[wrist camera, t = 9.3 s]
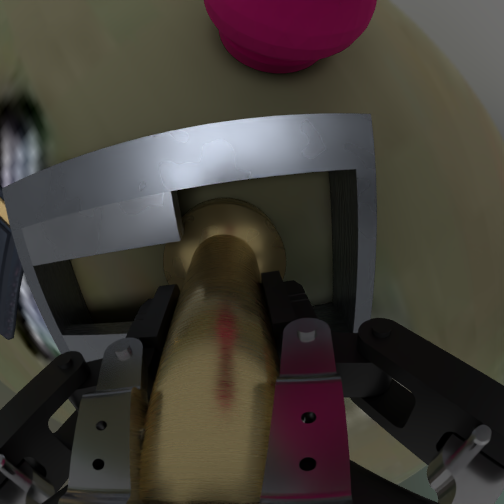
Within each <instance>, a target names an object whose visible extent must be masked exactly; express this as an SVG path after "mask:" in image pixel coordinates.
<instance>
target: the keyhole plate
mask: <svg viewBox="0 0 504 504" xmlns="http://www.w3.org/2000/svg"><path fill="white" fill-rule="evenodd" d="M320 171H329V179H330V193H331V212H332V239H333V303H328V304H323V305H317V306H312V308H313V310H314V312H315V314H316V316H317V318H318V319H319V320H322V321H324V322H325V323H327V324H328V326H329V327H330V330H331V331H334V332H339V333H358V329H359V327H360V325H361V324H362V323H364V322H365V321H367V320H370V318H371V309H372V299H373V288H374V275H375V259H376V230H377V197H376V169H375V153H374V140H373V130H372V120H371V114H344V113H333V114H299V115H282V116H269V117H259V118H249V119H241V120H233V121H225V122H219V123H212V124H206V125H200V126H194V127H189V128H184V129H179V130H174V131H169V132H164V133H160V134H155V135H151V136H147V137H143V138H139V139H135V140H131V141H127V142H124V143H120V144H117V145H113V146H110V147H106V148H103V149H100V150H97V151H94V152H91V153H88V154H85V155H82V156H79V157H76V158H73V159H70V160H67V161H65V162H62V163H59V164H57V165H54V166H52V167H49V168H47V169H44V170H42V171H39V172H37V173H35V174H32V175H30V176H28V177H25V178H23V179H21V180H19V181H17V182H14V183H12V184H10V185H8V186H6V187H4V188H2V192H3V197H4V202H5V207H6V211H7V216H8V220H9V224H10V228H11V232H12V235H13V239H14V242H15V246H16V249H17V252H18V256H19V259H20V262H21V265H22V268H23V270H24V273H25V276H26V279H27V281H28V284H29V287H30V289H31V292H32V294H33V297H34V299H35V301H36V304H37V306H38V308H39V310H40V313H41V315H42V317H43V319H44V321H45V323H46V325H47V328H48V330H49V332H50V334H51V336H52V337H53V339H54V341H55V343H56V345H57V347H58V349H59V351H60V352H61V354H63V353H65V352H69V351H77V352H80V353H81V354H82V356H83V357H84V359H85V361H86V362H89V361H93V360H97V359H102V358H103V355H104V352H105V350H106V348H107V347H108V346H109V345H110V344H112V343H113V342H115V341H117V340H119V339H123V338H125V337H126V335H127V333H128V331H129V329H130V327H131V325H132V323H133V321H131V322H116V323H99V324H94V323H93V321H92V318H91V316H90V314H89V311H88V309H87V306H86V304H85V301H84V299H83V296H82V294H81V291H80V288H79V286H78V283H77V280H76V277H75V274H74V271H73V268H72V265H71V262H70V259H74V258H80V257H85V256H91V255H97V254H103V253H109V252H115V251H121V250H127V249H133V248H139V247H145V246H151V245H158V244H164V243H170V242H177V241H181V239H182V237H183V235H184V233H185V232H184V227H183V222H182V217H181V212H180V206H179V201H178V195H177V190H180V189H186V188H192V187H198V186H204V185H210V184H217V183H223V182H230V181H238V180H245V179H253V178H261V177H269V176H278V175H287V174H297V173H308V172H320Z"/></svg>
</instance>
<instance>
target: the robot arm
mask: <svg viewBox="0 0 504 504" xmlns="http://www.w3.org/2000/svg"><path fill="white" fill-rule="evenodd" d="M261 282H262V287H263V291H264V296H265V300H266V305H267V309H268V314H269V318H270V323H271V327H272V332H273V336H274V341H275V344H276V346H277V350H278V355H279V359H280V363H281V365H280V376H279V377H277V378H276V384H275V393H274V402H273V410H272V419H271V427H270V435H269V442H268V450H267V457H266V464H265V471H264V478H263V485H262V491H261V497H260V501H259V504H494V503H495V501H496V500H497V499H498V497H499V496H500V494H501V493H502V491H503V490H504V386H503V385H502V384H500V383H498V382H497V381H495V380H493V379H492V378H490V377H488V376H487V375H485V374H483V373H482V372H480V371H478V370H477V369H475V368H473V367H472V366H470V365H468V364H466V363H465V362H463V361H461V360H460V359H458V358H456V357H455V356H453V355H451V354H450V353H448V352H446V351H444V350H443V349H441V348H439V347H438V346H436V345H434V344H432V343H431V342H429V341H427V340H426V339H424V338H422V337H420V336H419V335H417V334H415V333H414V332H412V331H410V330H408V329H407V328H405V327H403V326H402V325H400V324H398V323H396V322H394V321H392V320H389V319H385V318H374V319H370V320H367V321H365V322H364V323H362V324H361V325H360V327H359V329H358V333H339V332H334V331H331V330H330V327H329V326H328V324H327V323H325V322H324V321H322V320H319V319H318V318H317V316H316V314H315V312H314V310H313V308H312V306H311V303H310V301H309V300H308V297H307V295H306V294H305V291H304V289H303V287H302V285H300V284H299V283H297V282H295V281H294V280H292V281H286V282H283V280H282V277H281V275H280V272H279V270H278V271H271V272H264V273H261ZM179 296H180V289H179V287H178V285H177V284H172V285H164V286H159V287H158V289H157V291H156V294H155V296H154V298H152V299H148V300H147V301H146V302H145V303H144V304H143V305H141V307H140V309H139V311H138V313H137V315H136V317H135V319H134V321H133V323H132V325H131V327H130V329H129V331H128V333H127V335H126V337H125V338H123V339H119V340H117V341H115V342H113V343H112V344H110V345H109V346H108V347H107V348H106V350H105V352H104V355H103V358H102V359H97V360H93V361H89V362H86V361H85V359H84V357H83V356H82V354H81V353H80V352H77V351H69V352H65V353H63V354H61V355H59V356H58V357H57V358H55V359H54V360H53V361H52V362H51V363H50V364H49V365H48V366H47V367H45V368H44V369H43V370H42V371H41V372H40V373H39V374H38V375H37V376H36V377H34V378H33V379H32V380H31V381H30V382H29V383H28V384H27V385H26V386H25V387H24V388H23V389H22V390H21V391H19V392H18V393H17V394H16V395H15V396H14V397H13V398H12V399H11V400H10V401H9V402H8V403H7V404H6V405H5V406H4V407H3V408H2V409H1V410H0V504H145V503H143V502H142V501H140V458H141V439H140V438H141V433H142V429H143V428H144V423H145V417H146V412H147V408H148V404H149V400H150V396H151V392H152V388H153V385H154V381H155V377H156V373H157V370H158V366H159V362H160V359H161V355H162V352H163V348H164V345H165V341H166V338H167V334H168V331H169V328H170V324H171V321H172V318H173V315H174V311H175V308H176V305H177V302H178V299H179ZM392 378H393V379H395V380H396V381H398V382H399V383H400V384H402V385H403V386H404V387H406V388H407V389H409V390H410V391H411V392H412V393H413V394H412V393H411V392H410V391H408V390H407V389H405V388H404V387H403V386H401V385H400V384H399V383H397V382H396V381H394V380H393V379H392ZM344 397H350V398H351V400H352V401H353V402H354V403H355V404H356V405H357V406H358V407H359V408H361V409H362V410H363V411H364V412H365V413H366V414H367V415H369V416H370V417H371V418H372V419H373V420H374V421H376V422H377V423H378V424H379V425H380V426H381V427H383V428H384V429H385V430H386V431H387V432H388V433H390V434H391V435H392V436H393V437H394V438H395V439H397V440H398V441H399V442H400V443H401V444H403V445H404V446H405V447H406V448H407V449H409V450H410V451H411V452H412V453H414V454H415V455H416V456H417V457H419V458H420V459H421V460H422V461H423V462H425V463H426V464H427V465H428V469H427V478H428V481H429V483H430V486H431V487H432V488H433V489H434V490H435V491H436V493H437V496H438V503H437V502H435V501H432V500H430V499H427V498H425V497H423V496H420V495H418V494H415V493H413V492H411V491H409V490H407V489H405V488H403V487H400V486H398V485H396V484H394V483H392V482H390V481H388V480H386V479H384V478H382V477H380V476H378V475H377V474H375V473H373V472H371V471H369V470H367V469H366V468H364V467H362V466H360V465H358V464H357V463H355V462H353V461H351V460H350V459H349V447H348V435H347V424H346V414H345V405H344ZM67 399H69V400H70V402H71V403H72V404H73V406H74V407H75V408H76V411H75V412H74V413H73V414H72V415H71V416H70V417H69V418H68V419H67V421H66V422H65V423H64V424H63V425H62V426H61V427H60V428H59V430H58V431H56V432H55V433H52V432H51V431H50V429H49V427H48V421H49V418H50V417H51V416H52V415H53V414H54V413H55V412H56V410H57V409H58V408H59V407H60V406H61V405H62V404H63V403H64V402H65V401H66V400H67ZM68 478H69V482H68V485H66V486H65V487H64V488H62V489H61V490H60V491H58V490H59V489H60V488H61V487H62V485H63V484H64V483H65V482H66V481H67V479H68Z"/></svg>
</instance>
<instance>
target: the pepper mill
mask: <svg viewBox="0 0 504 504" xmlns="http://www.w3.org/2000/svg"><path fill="white" fill-rule="evenodd" d="M376 1H377V0H204V4H205V7H206V10H207V13H208V15H209V17H210V19H211V20H212V22H213V23H214V24H215V26H216V27H217V28H218V29H219V35H220V38H221V41H222V43H223V45H224V46H225V48H226V49H227V51H228V52H229V53H230V54H231V55H232V56H233V57H234V58H236V59H237V60H238V61H240V62H241V63H243V64H245V65H246V66H248V67H251V68H253V69H256V70H259V71H263V72H269V73H290V72H296V71H299V70H302V69H305V68H307V67H309V66H311V65H312V64H314V63H315V62H316V61H318V60H319V59H322V58H326V57H329V56H331V55H334V54H336V53H339V52H341V51H343V50H344V49H346V48H347V47H349V46H350V45H351V44H352V43H353V42H354V41H355V40H356V39H357V38H358V37H359V36H360V35H361V34H362V33H363V32H364V30H365V29H366V28H367V26H368V24H369V22H370V20H371V18H372V15H373V13H374V10H375V7H376Z"/></svg>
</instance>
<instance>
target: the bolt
mask: <svg viewBox="0 0 504 504" xmlns="http://www.w3.org/2000/svg"><path fill="white" fill-rule="evenodd" d="M182 222H183V227H184V232H185V233H184V235H183V237H182V239H181V241H177V242H170V243H166V245H165V249H164V256H163V267H164V272H165V276H166V279H167V282H168V284H169V285H172V284H177V285H178V287H179V289H180V296H179V299H178V302H177V305H176V308H175V311H174V315H173V318H172V321H171V324H170V328H169V331H168V334H167V338H166V341H165V345H164V348H163V352H162V355H161V359H160V362H159V366H158V370H157V373H156V377H155V381H154V385H153V388H152V392H151V396H150V400H149V404H148V408H147V412H146V417H145V423H144V428H143V429H142V433H141V438H140V439H141V458H140V501H142V502H143V503H145V504H259V501H260V497H261V491H262V485H263V478H264V471H265V464H266V457H267V450H268V442H269V435H270V427H271V419H272V410H273V402H274V393H275V384H276V378H277V377H279V376H280V365H281V363H280V359H279V355H278V350H277V346H276V344H275V341H274V336H273V332H272V327H271V323H270V318H269V314H268V309H267V305H266V300H265V296H264V291H263V287H262V282H261V273H264V272H271V271H278V270H279V272H280V275H281V277H282V280H283V278H284V275H285V270H286V254H285V249H284V245H283V242H282V240H281V238H280V236H279V234H278V232H277V230H276V229H275V227H274V225H273V224H272V222H271V221H270V219H269V218H268V217H267V216H266V215H265V214H264V213H263V212H262V211H261V210H259V209H258V208H256V207H255V206H253V205H251V204H249V203H247V202H244V201H241V200H237V199H232V198H219V199H213V200H208V201H205V202H203V203H200V204H199V205H197V206H195V207H193V208H192V209H191V210H189V211H188V212H187V213H186V214H185V215H184V216H183V217H182Z"/></svg>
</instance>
